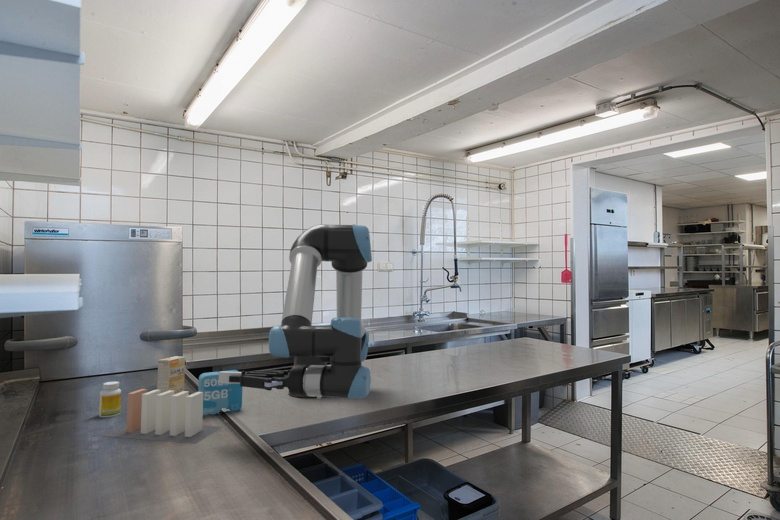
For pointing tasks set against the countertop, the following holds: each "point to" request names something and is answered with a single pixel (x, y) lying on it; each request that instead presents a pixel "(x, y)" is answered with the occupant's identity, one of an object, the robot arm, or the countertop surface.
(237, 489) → the countertop surface
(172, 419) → the domino
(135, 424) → the domino
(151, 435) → the mat
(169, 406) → the domino
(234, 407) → the data package
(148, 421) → the domino
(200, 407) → the domino
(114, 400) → the supplement bottle
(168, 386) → the supplement box
